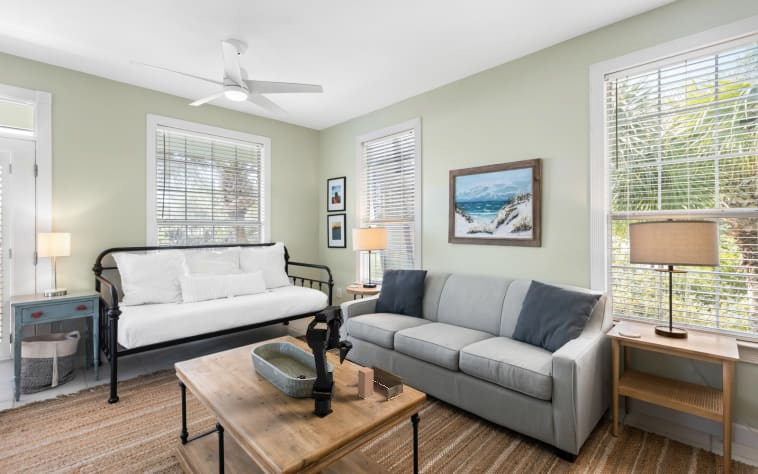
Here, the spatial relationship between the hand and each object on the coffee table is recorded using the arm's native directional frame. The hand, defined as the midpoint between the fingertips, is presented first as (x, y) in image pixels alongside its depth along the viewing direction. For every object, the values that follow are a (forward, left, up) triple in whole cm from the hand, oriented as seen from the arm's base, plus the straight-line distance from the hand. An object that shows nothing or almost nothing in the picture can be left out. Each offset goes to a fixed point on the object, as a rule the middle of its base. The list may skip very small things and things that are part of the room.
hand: (332, 366), depth 163 cm
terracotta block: (+8, -13, -13) cm, 20 cm away
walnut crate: (+17, -15, -13) cm, 26 cm away
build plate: (-1, +19, -14) cm, 24 cm away
